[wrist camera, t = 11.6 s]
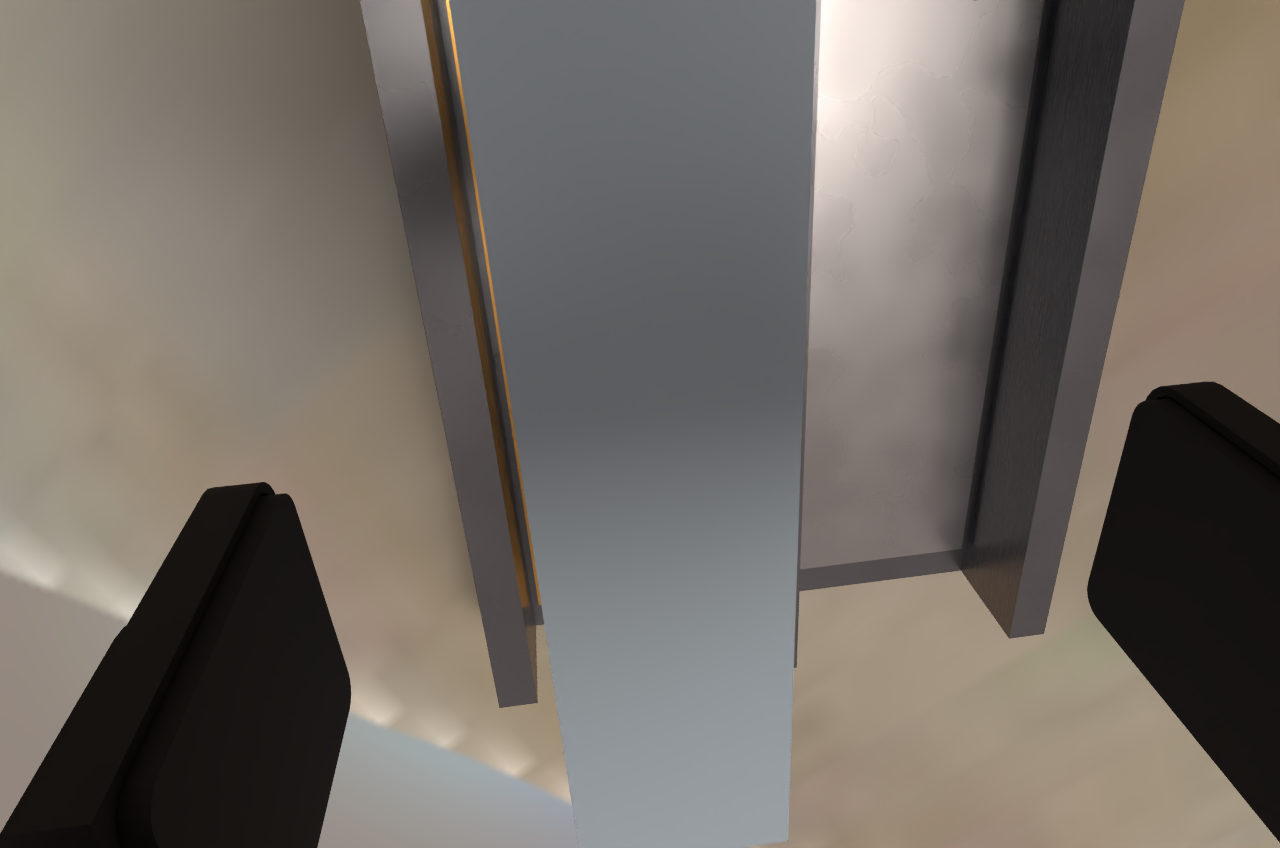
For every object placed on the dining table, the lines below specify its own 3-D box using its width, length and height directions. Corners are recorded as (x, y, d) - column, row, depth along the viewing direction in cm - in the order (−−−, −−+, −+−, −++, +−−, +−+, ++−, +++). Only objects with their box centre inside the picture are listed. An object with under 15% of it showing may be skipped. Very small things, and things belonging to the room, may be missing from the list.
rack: (303, -333, 15) (240, -415, 12) (1150, -371, 17) (1316, -456, 13) (485, 609, 26) (480, 710, 23) (992, 544, 27) (1061, 631, 24)
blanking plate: (455, -216, 15) (390, -383, 8) (676, -228, 16) (829, -400, 8) (562, 573, 24) (582, 872, 16) (702, 556, 25) (788, 841, 17)
